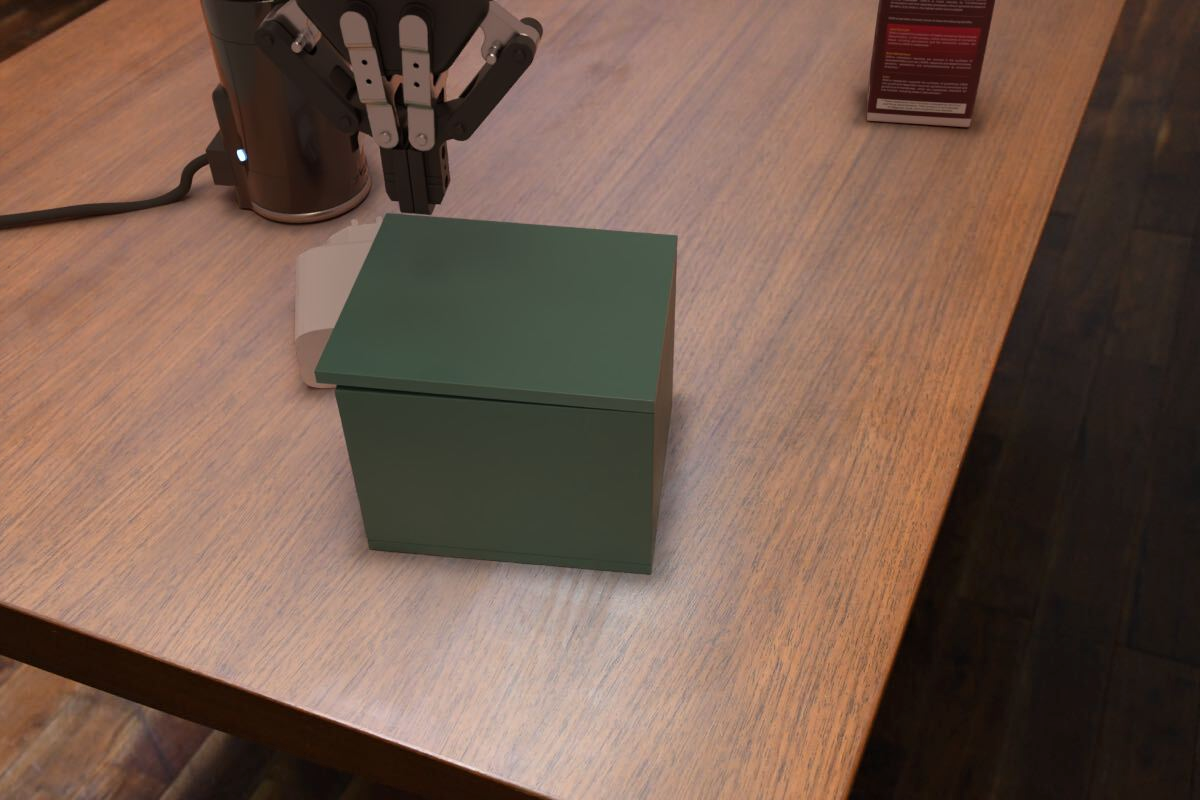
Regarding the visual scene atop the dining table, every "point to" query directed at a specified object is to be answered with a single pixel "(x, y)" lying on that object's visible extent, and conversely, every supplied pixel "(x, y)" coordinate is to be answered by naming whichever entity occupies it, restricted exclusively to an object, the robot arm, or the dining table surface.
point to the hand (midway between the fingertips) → (420, 204)
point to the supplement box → (927, 60)
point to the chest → (510, 474)
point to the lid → (507, 313)
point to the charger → (327, 290)
